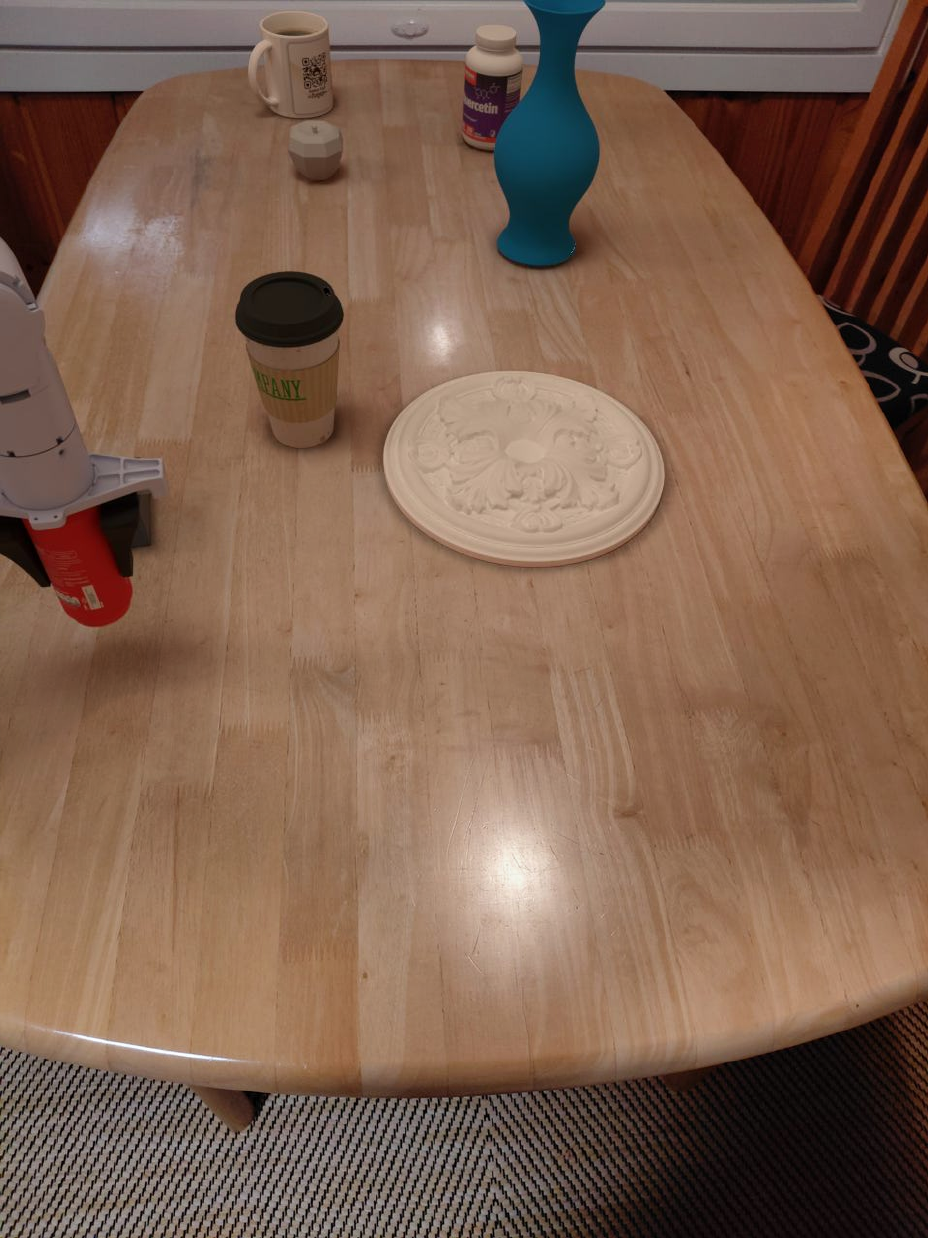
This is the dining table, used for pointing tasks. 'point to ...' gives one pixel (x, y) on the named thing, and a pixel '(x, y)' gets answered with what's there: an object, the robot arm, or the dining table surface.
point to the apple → (315, 148)
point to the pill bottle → (490, 84)
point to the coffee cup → (293, 352)
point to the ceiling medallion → (523, 468)
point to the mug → (294, 64)
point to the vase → (548, 142)
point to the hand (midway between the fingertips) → (87, 572)
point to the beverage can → (83, 569)
